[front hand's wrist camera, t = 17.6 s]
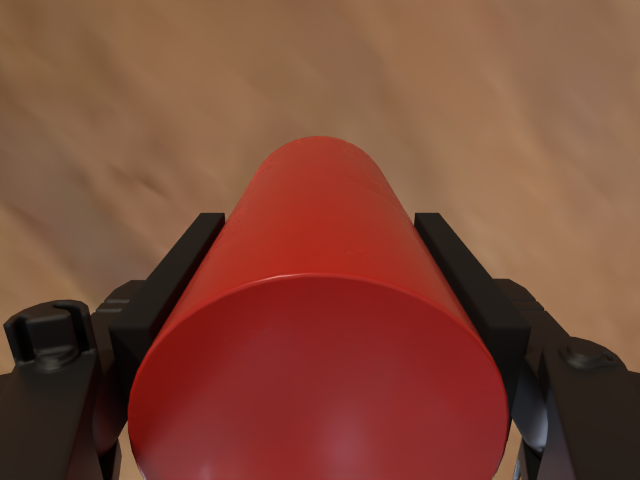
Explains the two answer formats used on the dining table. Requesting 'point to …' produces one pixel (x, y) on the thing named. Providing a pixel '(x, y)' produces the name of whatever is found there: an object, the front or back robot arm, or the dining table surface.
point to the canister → (318, 343)
